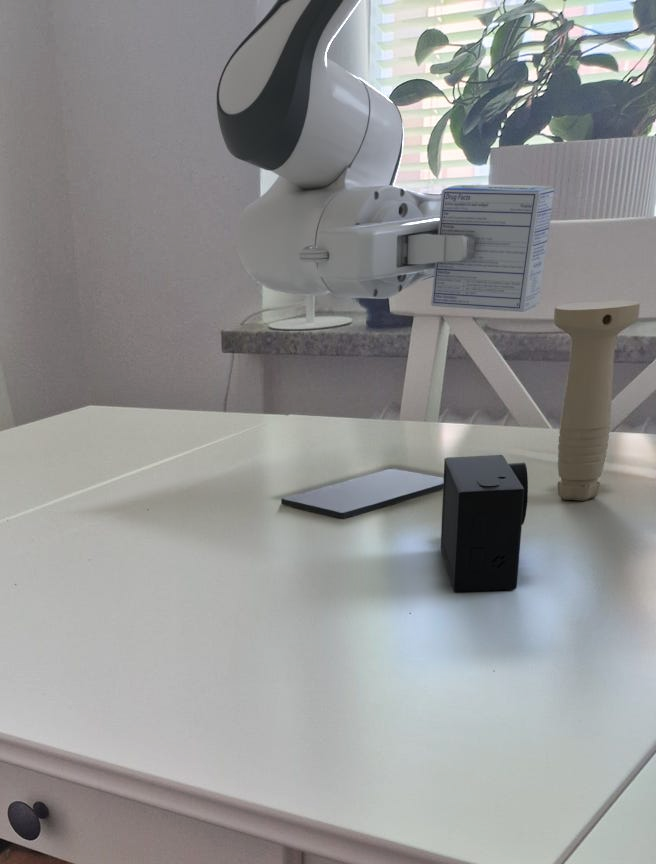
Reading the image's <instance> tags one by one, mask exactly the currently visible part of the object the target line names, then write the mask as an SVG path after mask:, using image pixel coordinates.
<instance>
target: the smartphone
mask: <svg viewBox="0 0 656 864" xmlns="http://www.w3.org/2000/svg"><path fill="white" fill-rule="evenodd" d="M443 480H444V477H439V476H434V475H428V474H424V473H418V472H414V471H407V470H403V469H397V468H392V467H391V468H388V469H384V470H380V471H377V472H374V473H370V474H369V473H368V474H366V475H363V476H359V477H355V478H352V479H348V480H345V481H341V482H337V483H333V484H329V485H326V486H323V487H319V488H315V489H312V490H308V491H305V492H301V493H297V494H293V495H289V496H287V497H282V498H281V499H280V502H281V503H280V504H281V505H284V506H287V507H292V508H297V509H301V510H303V511H304V510H305V511H308V512H312V513H313V512H314V513H317V514H320V515H321V514H322V515H326V516H330V517H334V518H339V519H341V520H342V519H343V520H344V519H347V518H351V517H353V516H357V515H360V514H364V513H367V512H370V511H374V510H377V509H380V508H381V509H382V508H384V507H387V506H390V505H394V504H397V503H401V502H405V501H407V500H411V499H414V498H418V497H421V496H424V495H428V494H431V493H434V492H439V491H441V490H443Z"/></svg>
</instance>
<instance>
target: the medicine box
mask: <svg viewBox="0 0 656 864" xmlns="http://www.w3.org/2000/svg"><path fill="white" fill-rule="evenodd" d="M441 194H442V195H441V208H440V219H439V229H438V235H458V234H472V235H473V236H474V237H475V245H474V249H475V255H474V257H473V258H472V259H469V260H463V261H444V262H436V263H435V271H434V277H433V280H432V281H433V282H432V290H431V291H432V292H431V300H430V305H431V306H432V307H441V308H442V307H443V308H458V309H459V308H460V309H473V310H475V309H476V310H488V311H489V310H490V311H504V312H505V311H507V312H521V313H523V312H526V311H528V310H531V309H532V308H535V307H536V306H537V305H539V304H540V300H541V292H542V286H543V285H542V284H543V278H544V277H543V276H544V269H545V263H546V262H545V261H546V254H547V246H548V239H549V232H550V225H551V219H552V218H551V217H552V211H553V205H554V204H553V203H554V197H555V188H554V187H553V185H552V186H551V185H525V184H523V185H521V184H456V185H455V184H454V185H451V186H448V187H445V188H443V189H442V191H441Z"/></svg>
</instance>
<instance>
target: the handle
mask: <svg viewBox="0 0 656 864" xmlns="http://www.w3.org/2000/svg"><path fill="white" fill-rule="evenodd" d="M640 309H641V302H640V301H637V300H631V299H630V300H629V299H612V300H611V299H609V300H592V301H581V302H572V303H565V304H559V305H555V306H554V309H553V324H554V325H555V326H556V327H557V328H558V329H560V330H561V331H563V332H565V333H566V334H568V336H570V354H569V360H568V361H569V362H568V367H567V368H568V369H567V376H566V384H565V391H564V397H563V403H562V410H561V415H560V421H559V422H560V423H559V426H560V427H559V431H558V434H559V435H558V444H557V450H558V451H557V471H558V477H559V478H560V480H558V481H557V494H558V496H559V498H560V497H561V498H562V499H563V500H566V501H579V502H584V501H587V500H589V499H595V498H596V497H597V496H598V495H599V491H600V487H601V481H599V478H600V477H601V476H602V474H603V471H604V466H605V462H606V457H607V450H608V447H609V440H610V431H611V430H610V429H611V426H610V425H611V421H612V420H611V414H612V399H613V377H614V364H615V363H614V362H615V349H616V345H617V338H618V335H619V334H620V333H621V332H623V331H624V330H625V329H627V328H628V327H631V326H632V325H634V323H636V322H637V321H638V319H639V316H640Z"/></svg>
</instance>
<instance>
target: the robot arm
mask: <svg viewBox="0 0 656 864" xmlns="http://www.w3.org/2000/svg"><path fill="white" fill-rule="evenodd" d="M360 2H361V0H276V2H275V3H274V5H272V7H271V9H270V10H269V11H268V12H267V14H266V15H265V16H264V17H263V18H262V19H261V21H260V22H259V23H258V24H257V25H255V27H254V28H253V29H252V30H251V32H249V34H247V36H246V37H245V38H244V39H243V41H241V42H240V44H239V45H238V46H237V47H236V49H235V50H234V51H233V53H232V54H231V56H230V57H229V58H228V60H227V62H226V64H225V65H224V67H223V70H222V71H221V75H220V78H219V80H218V84H217V89H216V113H217V120H218V126H219V128H220V129H219V130H220V133H221V135H222V139H223V141H224V144H225V147H226V149H227V150H228V152H229V153H230V154H231V155H232V156H233V157H234V158H235V159H238V160H240V161H243V162H245V163H248V164H250V165H253V166H255V167H258V168H260V169H261V170H265V171H269V172H271V173H273V174H275V175H277V176H278V177H277V178H276V180H275V181H274V182H273V183H272V184H271V186H270V187H269V188H268V189H267V191H265V193H263V194H262V195H261V196H260V197H258V198H257V199H255V200H254V201H252V202H251V203H249V204H248V205H247V206H246V207H245V208H244V209H243V211H242V212H241V214H240V216H239V218H238V221H237V224H236V228H235V229H236V230H235V247H236V250H237V254H238V258H239V260H240V263H241V264H242V266H243V268H244V270H245V271H246V272H247V274H248V275H249V276H250V278H251V279H252V280H254V281H255V282H256V283H258V285H260V286H262V287H264V288H265V289H269V290H272V291H275V292H280V293H284V294H289V295H299V296H310V297H311V296H314V297H315V296H323V295H325V294H326V295H327V294H328V293H330V294H332V295H334V296H337V297H341V298H354V299H355V298H356V299H375V300H386V299H389V298H393V297H394V296H396V295H398V294H400V293H401V292H402V291H403V290H406V289H408V288H410V287H411V286H413V285H415V284H418V283H419V282H421V281H425V280H428V279H431V278H434V271H435V263H436V262H444V261H463V260H469V259H472V258H473V257H474V255H475V249H474V245H475V237H474V236H473V235H472V234H458V235H438V229H439V219H440V208H441V195H442V193H424V192H417V191H414V190H411V189H406V188H402V187H400V186H397V185H395V183H396V180H397V176H398V173H399V169H400V165H401V161H402V157H403V151H404V142H405V141H404V140H405V139H404V136H405V135H404V134H405V133H404V131H405V130H404V124H403V122H404V121H403V118H402V114H401V112H400V110H399V108H398V106H397V105H396V103H395V102H394V101H393V100H391V99H390V98H388V97H387V96H386V95H384V94H383V93H382V92H380V91H379V90H378V89H376V88H375V87H374V86H372V85H370V84H369V83H368V82H367V81H365V80H364V79H362V78H361V77H359V76H357V75H354V74H353V73H351V72H350V71H348V70H346V69H345V68H344V67H343V66H341V65H339V64H338V63H336V62H335V61H333V60H332V59H331V58H329V57H327V52H328V50H329V48H330V45H331V43H332V41H333V40H334V38H335V37H336V36H337V34H338V33H339V32H340V30H341V28H342V27H343V26H344V24H345V23H346V21H347V20H348V19H349V17H350V16H351V15H352V13H353V12H354V10H355V9H356V7H357V6H358V5H359V3H360Z"/></svg>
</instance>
